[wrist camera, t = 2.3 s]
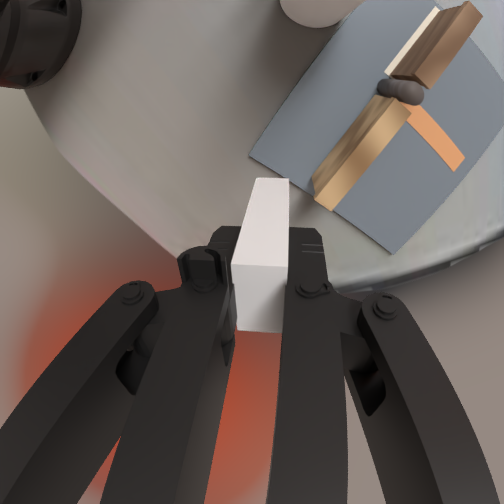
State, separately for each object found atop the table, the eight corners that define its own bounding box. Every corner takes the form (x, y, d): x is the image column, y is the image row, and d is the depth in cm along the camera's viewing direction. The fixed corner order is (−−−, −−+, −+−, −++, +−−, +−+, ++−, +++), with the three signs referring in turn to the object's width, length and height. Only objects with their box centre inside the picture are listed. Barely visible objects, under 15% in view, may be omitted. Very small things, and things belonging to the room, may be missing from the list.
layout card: (248, 154, 28) (248, 155, 27) (390, -33, 13) (392, -34, 12) (392, 252, 32) (393, 255, 32) (514, 103, 18) (517, 104, 17)
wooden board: (372, 92, 21) (395, 98, 16) (386, 104, 22) (411, 113, 17) (309, 174, 27) (314, 199, 22) (323, 184, 28) (331, 211, 23)
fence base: (373, 88, 21) (397, 93, 16) (435, 8, 14) (468, -1, 9) (388, 101, 22) (415, 110, 17) (449, 22, 15) (483, 17, 9)
